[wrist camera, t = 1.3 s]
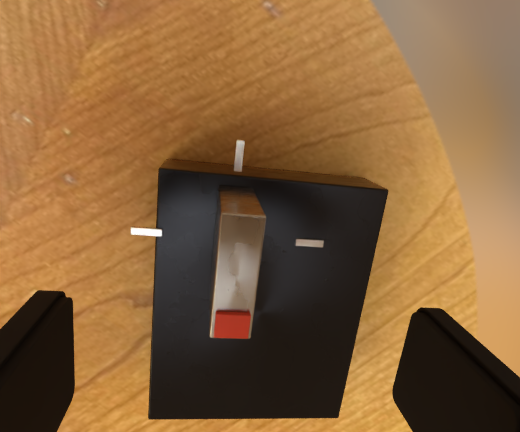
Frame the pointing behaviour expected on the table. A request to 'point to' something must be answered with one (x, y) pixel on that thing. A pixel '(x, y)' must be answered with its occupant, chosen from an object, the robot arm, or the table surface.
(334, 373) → the panel
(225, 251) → the hob knob
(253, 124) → the table surface
